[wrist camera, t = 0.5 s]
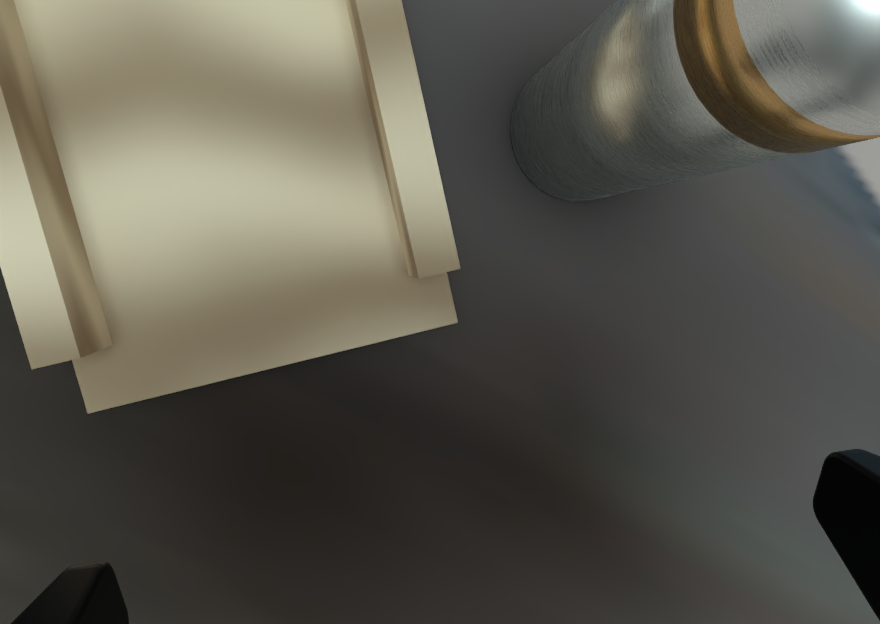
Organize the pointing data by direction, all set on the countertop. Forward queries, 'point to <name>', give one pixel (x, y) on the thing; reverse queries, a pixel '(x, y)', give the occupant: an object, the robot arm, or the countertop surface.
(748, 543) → the countertop surface
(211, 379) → the cradle
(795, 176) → the countertop surface
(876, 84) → the cell
